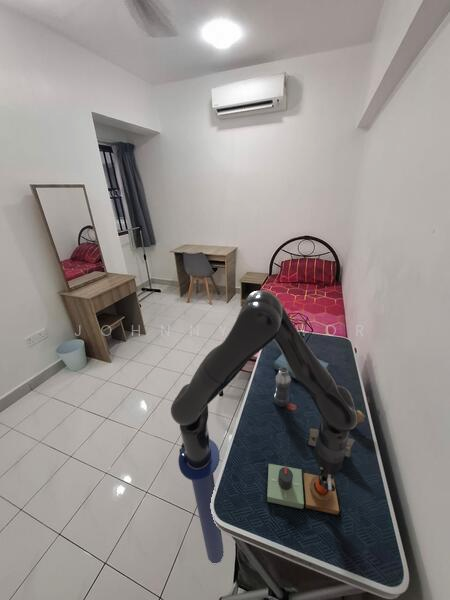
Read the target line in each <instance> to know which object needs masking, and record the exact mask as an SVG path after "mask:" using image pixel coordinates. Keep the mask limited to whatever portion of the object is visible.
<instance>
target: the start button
mask: <svg viewBox="0 0 450 600" xmlns="http://www.w3.org/2000/svg"><path fill="white" fill-rule="evenodd" d="M315 489H316V491H317V492H318V493H319V494H321V495H325V494H326V493H327V490H325V489H324V487H323V486H321V485H320V484H319V479H318V480H317V481H316V483H315Z"/></svg>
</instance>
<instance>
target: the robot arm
mask: <svg viewBox="0 0 450 600" xmlns="http://www.w3.org/2000/svg"><path fill="white" fill-rule="evenodd" d="M272 341H274V342H275V343H276V345H277V347H278V349H279V350H280V352H281V355H282V354H283V356H284V358H285V360H286V362H287V364H288V367H289V369H290V370H291V372H292V374H293V375H294V377H295V378H296V379H295V378H294V379H295V380H296V381H297V382H298V384H299V385H300V386H301V387H302V389H304V390H305V391H306V393H307V394H308V395H309V396H310V397H311V399H312V400H313V403H314V405H315V407H316V408H317V410H318V412H319V413H320V415H321V419H320V424H319V428H318V431H319V433H318V436H317V440H316V445H315V446H314V450H313V451H314V452H313V457H314V459H315V462H316V464H318V465H317V466H318V473H319V475H318V476H319V484H320V485H321V486H323V487H324V489H325V490H330V491H335V489H336V486H335V487H334V485H333V483H331V479H333V478H335V477H334V476H335V475H334V474H335V473H336V472H339V471H340V470H341V469H342V467H343V464H344V460H345V457H346V456H345V453H346V445H347V441H348V438H349V437H350V431H353V430H354V429H355V428H356V427H357V424H358V423H357V414H356V411H357V410H356V407H355V402H354V399H353V396H352V394H351V392H350V391H349V390H348V389H347V388H346V387H344V386H342V385H338V384H337V382H336V380H335V379H334V377H333V376H332V375H331V373H330V372H329V370H328V369H327V370H328V371H327V370H326V369H325V367H324V366H323V365H322V364H321V363H320V361H319V360H320V359H319V360H318V358H317V356H316V355H315V353H314V352H313V351H312V350H311V348H310V347H309V346H308V344H307V342H306V341H305V340H304V339H303V337H302V336H301V334H300V333H299V331H298V330H297V328H296V327H295V325H294V323H293V321H292V320H291V318H290V316H289V314H288V312H287V311H286V309H285V307H284V305H283V303H282V302H281V300H280V299H279V298H278V297H277V296H276V295H275V294H274V293H272V292H270V291H268V290H262V289H261V290H256V291H255V290H254V291H252V292H251V293H250V294H249V295H247V297H246V298H245V300H244V302H243V304H242V306H241V308H240V311H239V312H238V314H237V317H236V320H235V322H234V324H233V326H232V328H231V330H230V331H229V332H228V335H227V336H226V337H225V339H223V341H222V342H221V343H220V344H219V345H217V346H214V347H213V348H212V349H211V350H210V351H209V352H208V353H207V354H206V355H205V357H204V358H203V360H202V361H201V363H200V364H199V366H198V367H197V369H196V371H195V372H194V374H193V376H192V378H191V380H190V382H189V383H187V384H184V386H182V387H181V389H180V391H179V392H178V394H177V395H176V397H175V399H174V400H173V402H172V403H171V406H170V415H171V417H172V419H173V421H174V422H175V423H176V424H178V425H179V431H180V436H181V441H182V443H181V447H180V448H179V454H180V456H181V457H184V462H185V463H187V464H188V466H189V467H190V468H191V469H193V470H201V469H204V468H205V467H206V466H207V465H208V464H209V463H210V461H211V457H212V454H211V448H210V441H209V439H210V435H209V434H210V433H209V426H208V421H209V404H210V403H211V402H212V401H214V399H216V398H217V396H219V394H220V393H221V392H222V391H223V390H224V389H226V388H227V387H228V386H229V384H231V382H232V381H233V380H234V379H235V378H236V376H237V375H238V374H239V373H240V372H241V371H242V370H243V368H244V367H245V366H246V364H247V363H249V361H250V360H251V359H252V358H253V357H254V356H255V355H257V354H258V353H259V352H260V351H261V350H263V349H264V348H265V347H266V346H267V345H269V344H270V343H271V342H272Z"/></svg>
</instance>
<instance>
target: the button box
mask: <svg viewBox="0 0 450 600" xmlns="http://www.w3.org/2000/svg"><path fill="white" fill-rule="evenodd" d="M318 479H319V475H316V474H313V473H306V472H303V473H302V483H303V496H304V507H305V509H310V510H313V511H319V512H322V513H327V514H328V513H329V514H333V515H337V516H339V513H340V507H339V502H338V496H337V490H336V483H335V477H333V479H331V483H333V485H334V487H335V491H330V490H327V493H326V494H325V495H321V494H319V493H318V492H317V491H316V489H315V483H316V481H317V480H318Z"/></svg>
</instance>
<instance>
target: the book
mask: <svg viewBox="0 0 450 600" xmlns="http://www.w3.org/2000/svg"><path fill="white" fill-rule="evenodd" d="M317 359H318V358H317ZM318 360H319V361H320V363H321V364H322V365H323V366H324V367H325V369H326V370H327V371H328V372H329V369H328V366H329V365H330V364H329V363H328V362H326V361H324V360H321V359H318ZM281 367H286V368H287V369H288V375H289V376H290V378H293V379H295V380H296V378H295V377H294V375H293V374H292V372H291V370H290V369H289V367H288V364H287V362H286V360H285V358H284V356H283V354H282V353H281V354H280V356H279V357H278V358H277V359H276V360H275V361H274V362H273V369H274V370H277V371H279V369H280V368H281Z"/></svg>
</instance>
